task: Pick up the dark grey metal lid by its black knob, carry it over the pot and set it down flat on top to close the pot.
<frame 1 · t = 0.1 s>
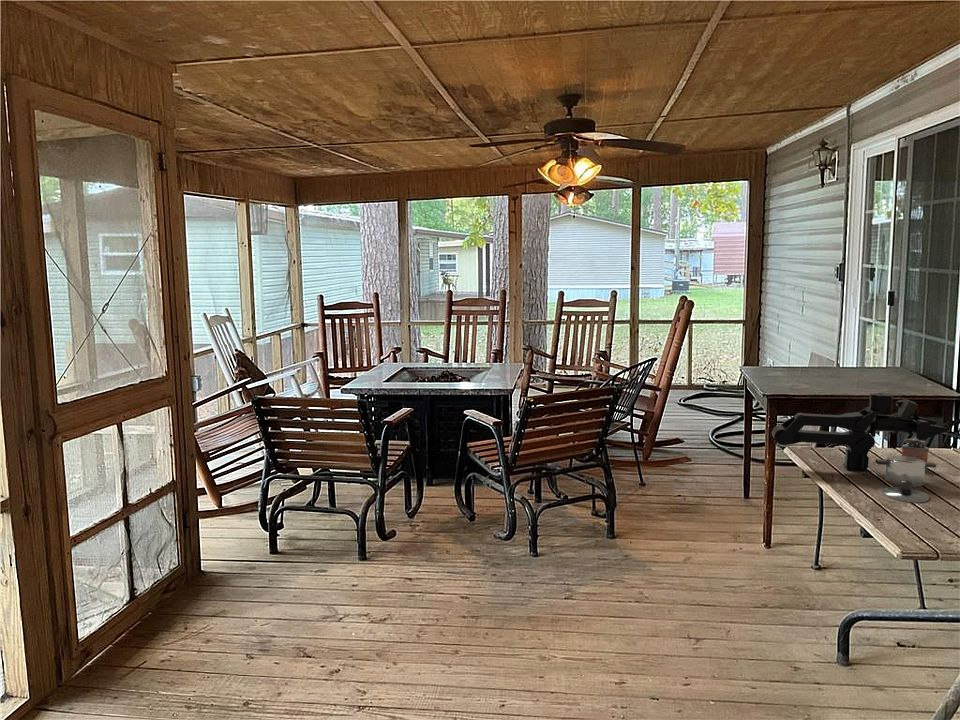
hand: (941, 426, 234), 17 cm above the table, tool horizontal, fingers open, 9 cm apart
lighter: (913, 467, 244), on the table
pot: (903, 480, 229), on the table
lid: (905, 496, 216), on the table
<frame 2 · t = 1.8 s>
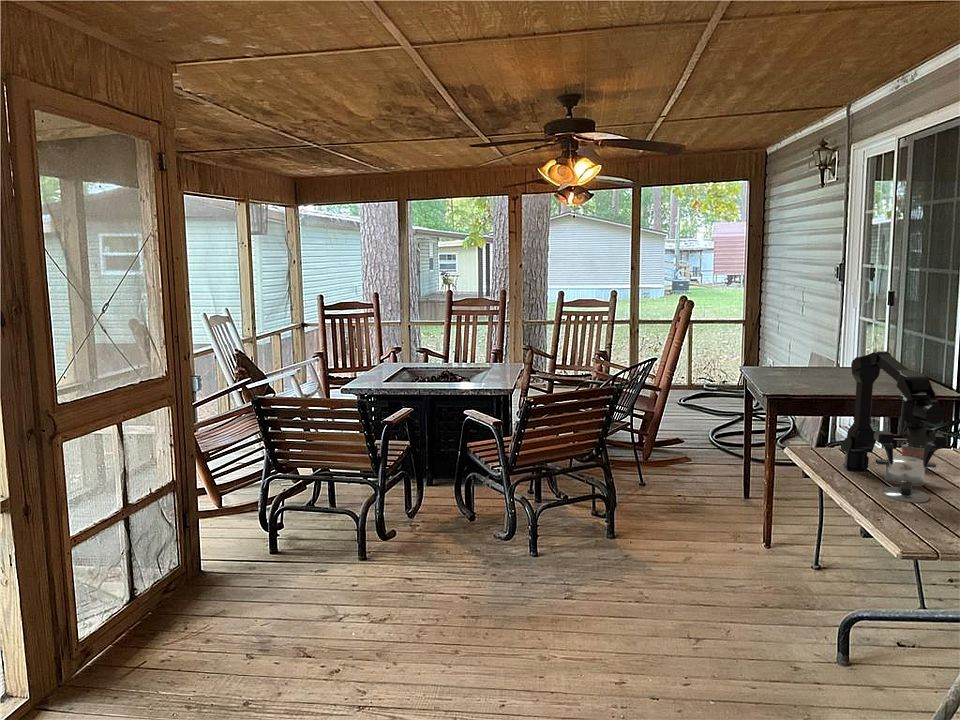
hand: (907, 465, 215), 10 cm above the table, tool pointing down, fingers open, 9 cm apart
nothing on the table moved.
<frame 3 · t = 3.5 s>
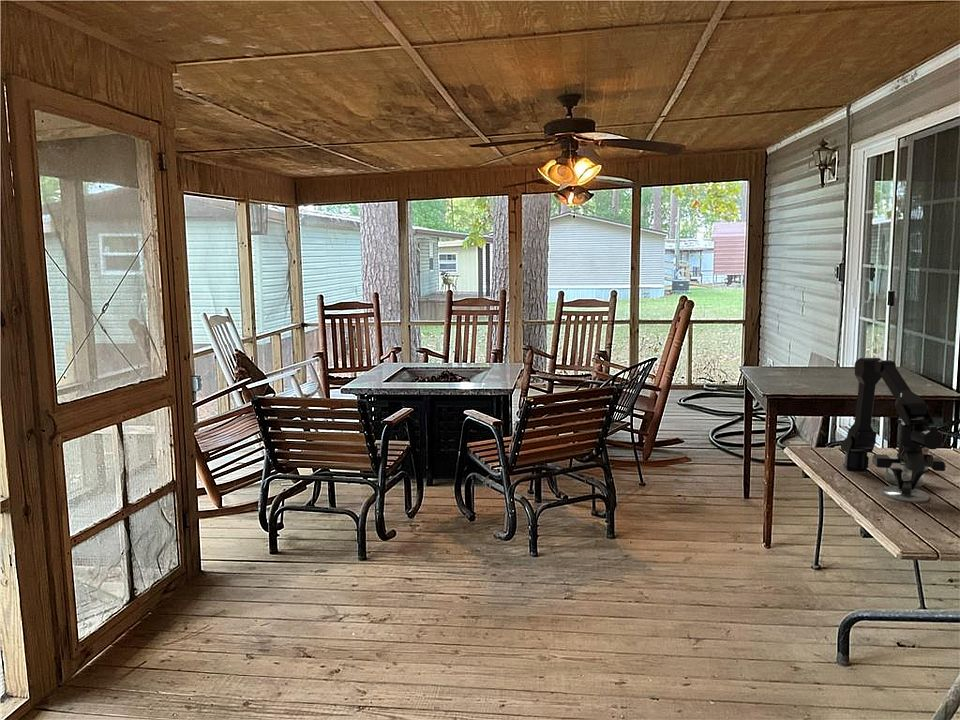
hand: (905, 489, 216), 2 cm above the table, tool pointing down, fingers closed on lid, 3 cm apart
lid: (905, 495, 216), on the table, touching gripper
everything else where it was.
when the fingers open (10 cm above the table, at t = 6.8 s): lid drops 1 cm, resting on pot.
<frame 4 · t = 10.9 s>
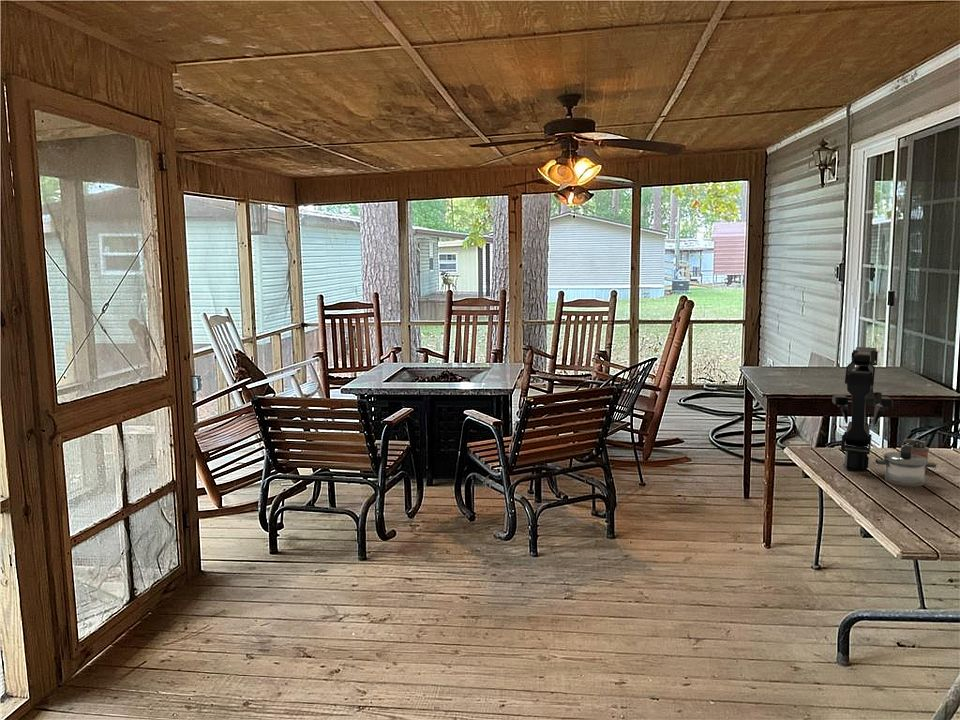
hand: (860, 424, 252), 13 cm above the table, tool pointing down, fingers open, 9 cm apart
lid: (905, 460, 228), point 7 cm above the table, touching pot
everything else where it was.
at the end: lid 0.0 cm off-centre on the pot, point 7.0 cm above the pot's base; lid tilted 0°; the gripper is holding nothing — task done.
